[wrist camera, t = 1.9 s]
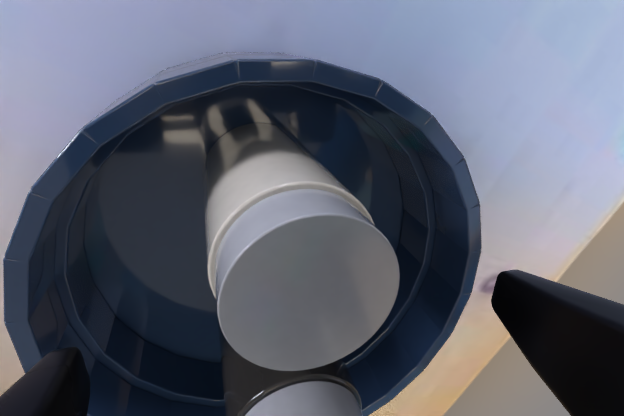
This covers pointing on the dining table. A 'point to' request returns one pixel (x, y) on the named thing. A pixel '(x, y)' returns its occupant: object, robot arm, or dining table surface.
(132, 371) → the bowl
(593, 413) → the robot arm
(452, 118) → the dining table surface
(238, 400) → the pepper shaker
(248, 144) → the salt shaker
